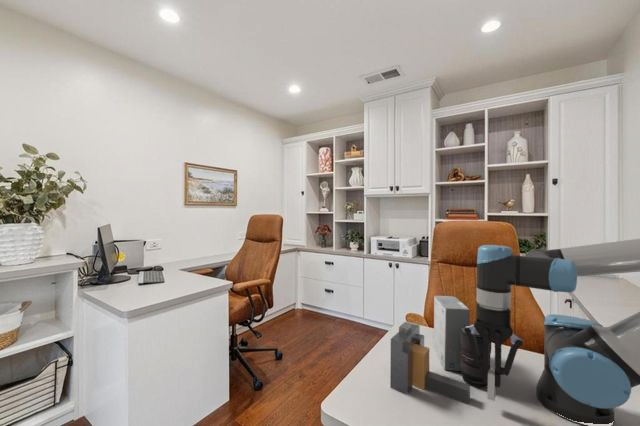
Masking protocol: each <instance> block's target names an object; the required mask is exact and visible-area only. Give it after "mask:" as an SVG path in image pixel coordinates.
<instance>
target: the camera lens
mask: <svg viewBox="0 0 640 426" xmlns="http://www.w3.org/2000/svg"><path fill="white" fill-rule="evenodd" d="M465 328H466V327H463V328H462V331H461V341H460V343H461V364H460V366H461V371H460V373H461V375H462V380H463V382H464V383H466V384H469V385H470V387H474V388H478V389H483V388H484V389H485V388H488V384H485V383H484V382H483V370H482V369H481V368H480V367H477V366H475V362H474V358H473V354H472V349H471V345H470V341H469V337H468V336H467V334H466V332H465ZM475 331H476V333H475V336H476V340H477V344H478V349H479V353H480V357H481V361H482V362H483V339H482V338H481V336H480V335H479V333H478V332H477V330H476V329H475ZM491 353H492V342H490V355H491ZM489 365H490V366H489V369H492V368H491V367H492V366H491V358H490V359H489Z"/></svg>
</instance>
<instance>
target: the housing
mask: <svg viewBox="0 0 640 426" xmlns="http://www.w3.org/2000/svg"><path fill="white" fill-rule="evenodd" d="M420 328H421V327H420V325H419V324H414V323H411V322H407V321H404V322H403V323H402V324H401V325H399V326H398V332H397V333H396V334H394V335H393V336H392V337H391V338H390V374H389V375H390V382H389V383H390V386H389V387H390V388H391V389H393V390H396V391H398V392H401V393H402V394H403V393H404V394H406V395H408V394H409V393H410V392H411V390H412V389H413V385H412V374H413V348H409V347H410V346H411V345H412V343H414V344H417V345H421V346H424V347H425V335H423V334H421V333H420V330H421V329H420Z"/></svg>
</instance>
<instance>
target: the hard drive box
mask: <svg viewBox="0 0 640 426" xmlns="http://www.w3.org/2000/svg"><path fill="white" fill-rule="evenodd" d="M433 297H434V298H433V300H434V301H433V305H434V306H433V349H434V351H435V353H436V355H437V357H438V360H439V361H440V364H441V365H442V367H443V369H444V370H446V371H455V372H461V366H460V364H461V343H460V341H461V331H462V328H463V327H466V326H467V325H469V326H471V325H470V322H471V321H470V317H471V311H470V308H469V307H467V306H466V304H465V303H463V302H462V301H461V300H460V299H458V298H457V297H456V296H451V295H450V296H449V295H434V296H433Z"/></svg>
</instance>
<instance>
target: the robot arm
mask: <svg viewBox="0 0 640 426" xmlns="http://www.w3.org/2000/svg"><path fill="white" fill-rule="evenodd" d="M639 272H640V238H634V239H626V240H619V241H617V240H616V241H612V242H611V241H610V242H602V243H594V244H587V245H586V244H585V245H578V246H570V247H563V248H557V249H556V248H555V249H547V250H542V249H535V250H531V251H528V252H527V253H526V254H525V255H517V254H514V253H513V251H512V247H510V246H507V245H506V246H505V245H498V244H483V245H480V246H479V247H478V249H477V259H476V298H475V299H476V301H475V302H476V305H475V306H476V307H475V309H476V310H475V316H476V317H475V321H474V322H473V324H471V325H470V326H469V325H467V326H466V328H465V332H466V334H467V336H468V337H469V341H470V345H471V349H472V354H473V358H474V362H475V366H477V367H480V368H481V369H482V370H483V382H484V383H485V384H488V386H487V396H486V397H487V400H490V401H493V402H494V401H495V399H496V388H498V389H499V388H500V387H501V384H502V382H501V381H502V378H501V377H502V376H506V377H507V376H509V375H510V372H511V369H512V366H513V363H514V360H515V358H516V355H517V352H518V350H519V349H520V348H521V347H522V346H523V342H524V339H523V338H522V337H521V336H517V335H516V334H515V333H514V332H513V329H512V327H511V316H512V315H511V313H512V311H511V309H510V308H511V305H512V304H511V303H512V286H516V287H523V288H529V289H537V290H544V291H550V292H551V291H552V292H554V293H558V292H560V293H570V294H571V293H573V292H575V291H576V289H577V283H578V282H577V281H578V277H588V276H598V275H599V276H600V275H614V274H615V275H616V274H626V273H627V274H628V273H639ZM543 327H544V337H543V339H544V340H543V341H544V344H543V345H544V350H543V351H544V352H543V353H544V357H543V358H544V361H543V362H544V366H543V371H542V372H541V375H540V377H539V378H538V381H537V384H536V386H535V397H536V398H537V400H538V402H539V403H540V404H541V405H542V406H544V408H546V409H547V410H549V411H550V410H551V411H550V412H552V411H553V412H555V413H558V414H560V415H562V416H564V417H566V418H568V419H571V420H573V421H577V422H584V423H593V424H609V423H612V422H613V421H614V422H615V411H614V409H615V408H619V407H620V406H623V405H624V404H625V403H627V402H628V400H629V399H630V398H631V393H632V388H634V387H637V386H639V385H640V311H639V312H636V313H634V314H632V315H630V316H628V317H625V318H624V319H622V320H620V321H618V322H616V323H614V324H612V325H610V326H603V325H602V324H601V323H599V322H597V321H594V320H590V319H585V318H583V317H577V316H571V315H565V314H564V315H563V314H548V315H547V314H546V316H545V317H544V323H543ZM475 329H476V330H477V332H478V333H479V335H480V336H481V338H482V339H483V362H482V361H481V357H480V353H479V349H478V344H477V340H476V336H475V333H476V331H475ZM509 339H510V344H511V346H510V349H509V350H508V351H509V352H508V355H507V357H506V360H505V363H504V367H502V344H504V343H505V342H506V341H507V340H509ZM490 342H491V343H492V344H494V369H492V368H491V369H489V366H490V367H491V364H490V365H489V359H490V360H491V354H490ZM553 412H552V413H553ZM555 413H554V414H555Z"/></svg>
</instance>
